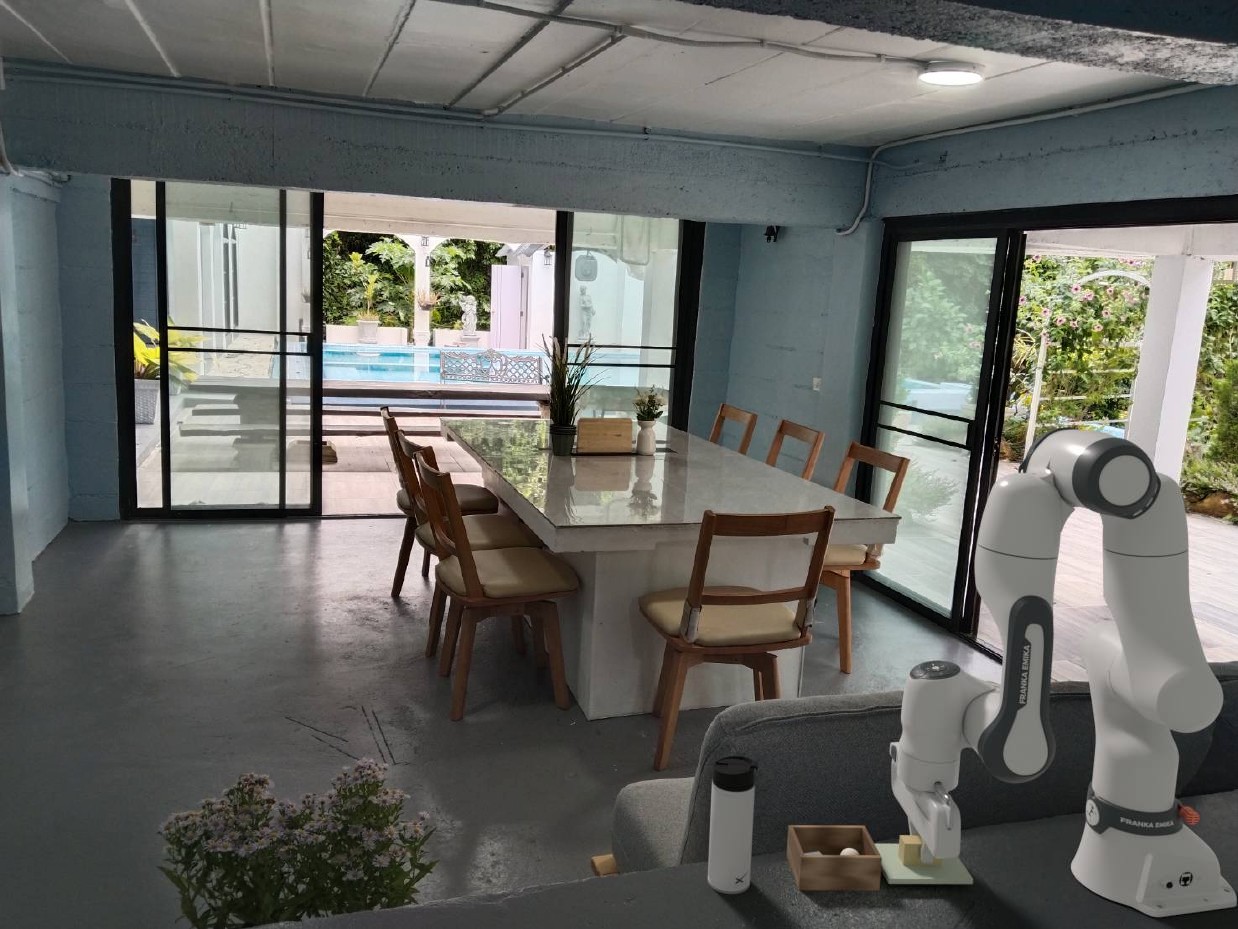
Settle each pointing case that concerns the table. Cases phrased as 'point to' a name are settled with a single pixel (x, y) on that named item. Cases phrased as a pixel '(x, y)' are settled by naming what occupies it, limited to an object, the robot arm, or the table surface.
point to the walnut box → (833, 858)
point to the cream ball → (849, 852)
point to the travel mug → (731, 824)
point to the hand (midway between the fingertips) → (921, 853)
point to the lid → (918, 865)
